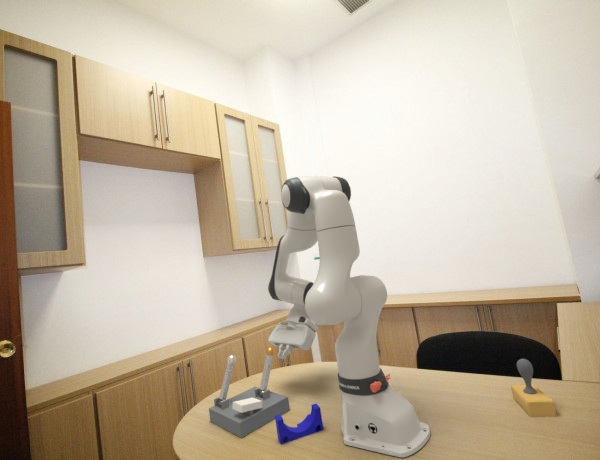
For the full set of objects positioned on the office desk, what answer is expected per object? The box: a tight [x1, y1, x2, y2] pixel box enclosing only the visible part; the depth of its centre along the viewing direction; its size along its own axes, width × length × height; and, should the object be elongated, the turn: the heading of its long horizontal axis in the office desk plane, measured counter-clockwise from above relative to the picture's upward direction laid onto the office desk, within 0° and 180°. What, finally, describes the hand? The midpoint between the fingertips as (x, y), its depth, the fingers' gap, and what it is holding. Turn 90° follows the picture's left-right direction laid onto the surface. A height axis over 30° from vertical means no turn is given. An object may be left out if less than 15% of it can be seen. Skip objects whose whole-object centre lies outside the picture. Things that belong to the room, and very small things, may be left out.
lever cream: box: [217, 354, 237, 406], centre depth 103 cm, size 3×3×15 cm
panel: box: [208, 386, 291, 439], centre depth 100 cm, size 18×18×6 cm
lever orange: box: [258, 346, 276, 396], centre depth 105 cm, size 3×3×15 cm
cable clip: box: [274, 403, 324, 445], centre depth 85 cm, size 12×4×6 cm, turn 108°
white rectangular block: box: [232, 398, 262, 413], centre depth 93 cm, size 5×7×2 cm
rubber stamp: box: [510, 358, 557, 418], centre depth 81 cm, size 10×6×12 cm, turn 166°
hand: (281, 358), depth 110 cm, fingers closed
